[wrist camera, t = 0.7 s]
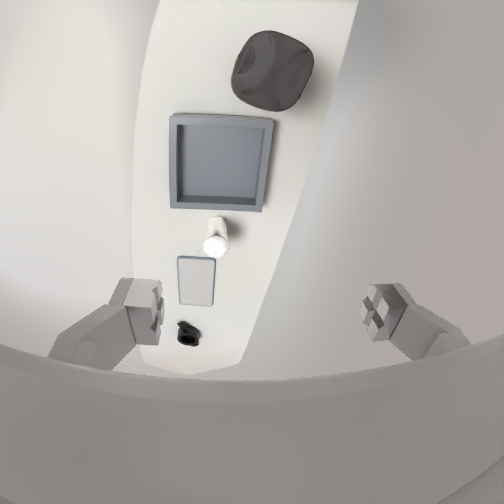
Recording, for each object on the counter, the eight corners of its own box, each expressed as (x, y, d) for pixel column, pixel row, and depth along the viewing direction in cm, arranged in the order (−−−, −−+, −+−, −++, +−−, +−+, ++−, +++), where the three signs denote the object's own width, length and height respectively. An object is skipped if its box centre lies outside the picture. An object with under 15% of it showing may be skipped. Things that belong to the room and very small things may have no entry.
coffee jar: (245, 38, 34) (257, 15, 19) (291, 56, 36) (330, 47, 21) (223, 89, 39) (220, 98, 24) (268, 105, 41) (293, 125, 26)
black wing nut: (206, 323, 72) (205, 331, 70) (198, 343, 78) (198, 351, 75) (177, 317, 70) (176, 326, 68) (172, 338, 76) (171, 346, 73)
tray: (174, 113, 40) (169, 117, 37) (270, 118, 42) (273, 122, 39) (173, 198, 50) (170, 208, 47) (259, 201, 52) (261, 211, 49)
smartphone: (179, 304, 66) (176, 257, 57) (179, 301, 67) (177, 254, 58) (212, 306, 67) (215, 259, 59) (213, 303, 68) (216, 256, 59)
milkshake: (204, 209, 52) (200, 239, 44) (231, 215, 53) (232, 245, 45) (199, 229, 54) (195, 261, 46) (225, 234, 56) (226, 266, 48)
